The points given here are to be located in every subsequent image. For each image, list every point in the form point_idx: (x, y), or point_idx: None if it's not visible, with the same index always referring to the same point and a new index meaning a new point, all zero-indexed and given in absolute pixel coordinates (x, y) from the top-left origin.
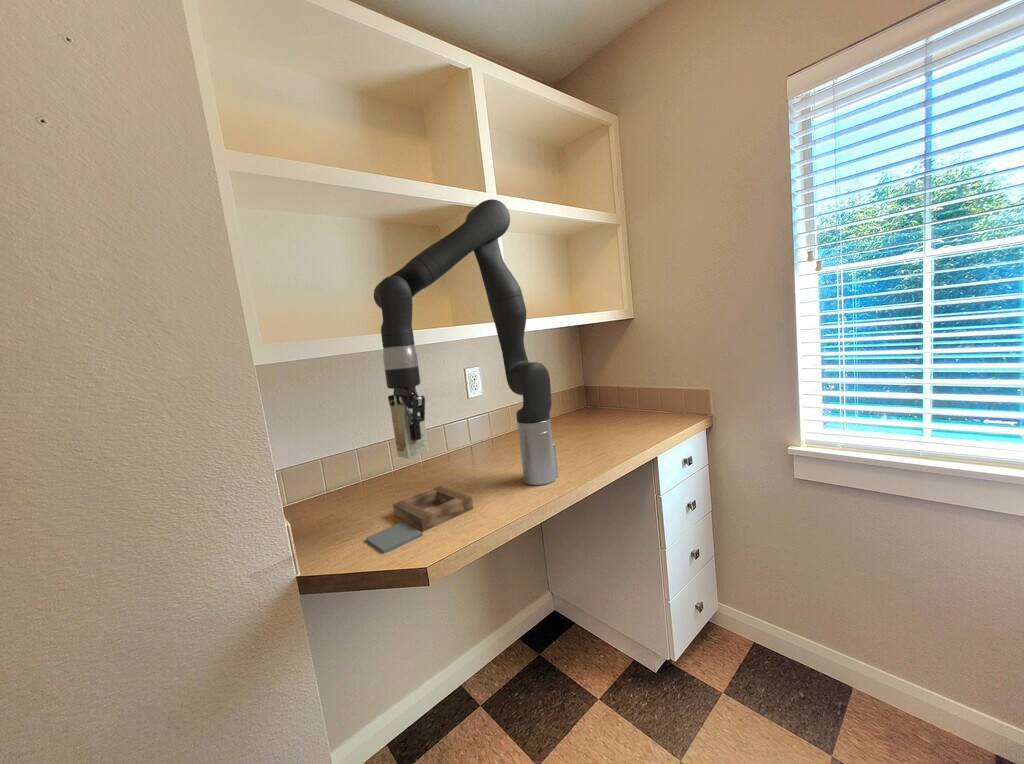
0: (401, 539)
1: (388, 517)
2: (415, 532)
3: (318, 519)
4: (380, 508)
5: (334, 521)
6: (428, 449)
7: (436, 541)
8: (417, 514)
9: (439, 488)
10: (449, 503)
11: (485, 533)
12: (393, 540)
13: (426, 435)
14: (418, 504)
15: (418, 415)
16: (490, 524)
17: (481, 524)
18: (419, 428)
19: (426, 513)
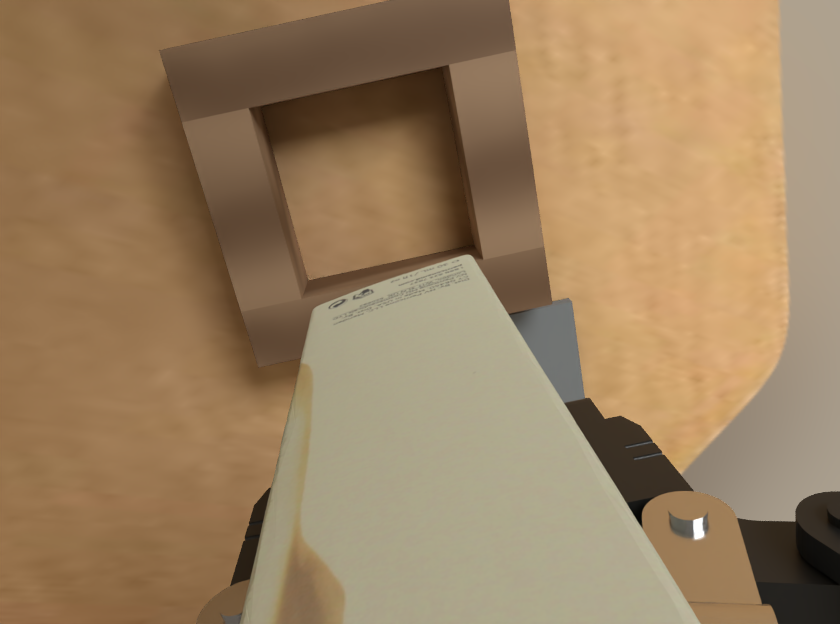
0: (559, 384)
1: (265, 369)
2: (546, 324)
3: (57, 608)
4: (117, 377)
5: (133, 558)
6: (475, 261)
7: (661, 270)
8: None
9: (206, 77)
10: (491, 126)
11: (774, 75)
12: None
13: (503, 307)
14: (289, 237)
15: (752, 592)
16: (723, 10)
17: (687, 45)
18: (676, 477)
19: (513, 267)
